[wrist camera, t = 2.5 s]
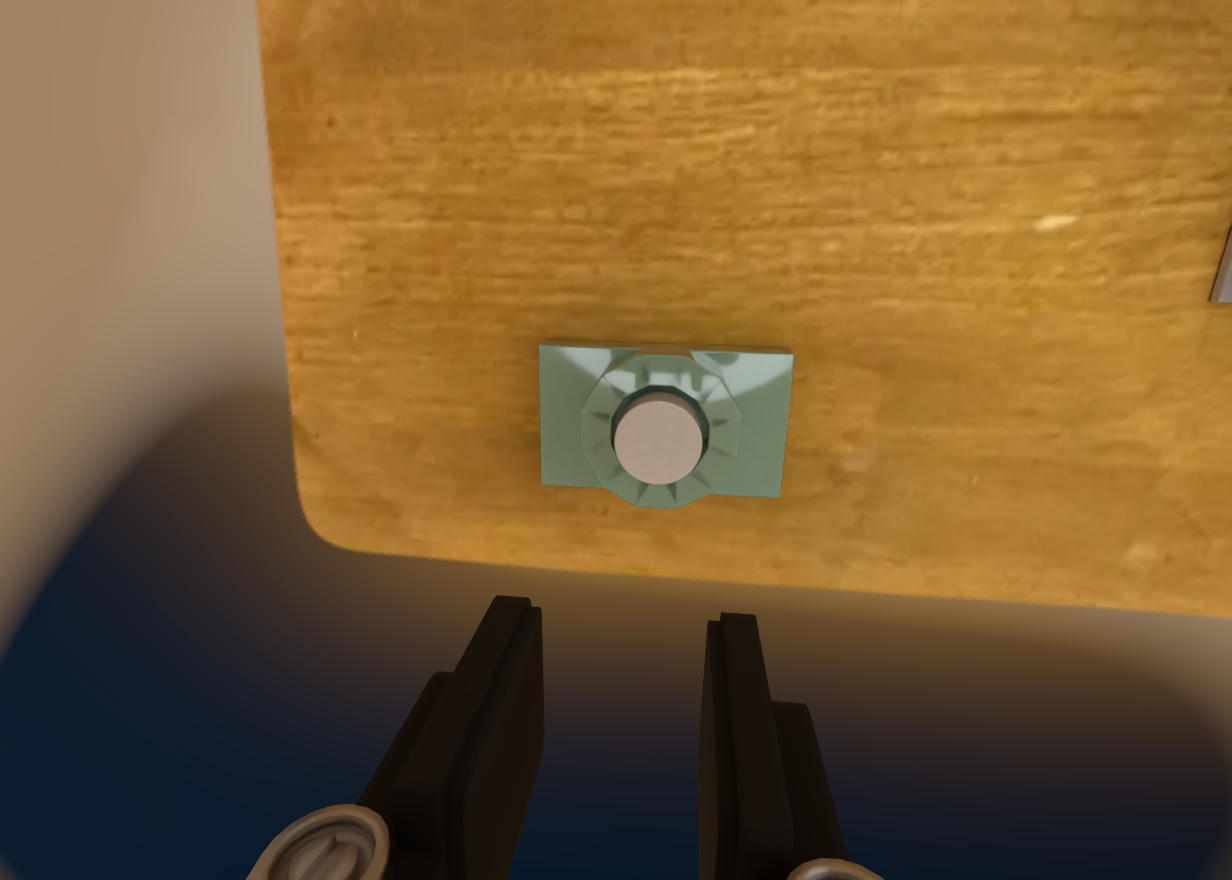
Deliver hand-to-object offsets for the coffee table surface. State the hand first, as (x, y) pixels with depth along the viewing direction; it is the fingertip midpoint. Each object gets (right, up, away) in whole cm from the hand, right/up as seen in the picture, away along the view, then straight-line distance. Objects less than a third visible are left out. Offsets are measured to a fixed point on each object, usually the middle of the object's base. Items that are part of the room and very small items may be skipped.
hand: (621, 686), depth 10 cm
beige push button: (+2, +4, +14) cm, 15 cm away
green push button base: (+2, +5, +16) cm, 17 cm away
